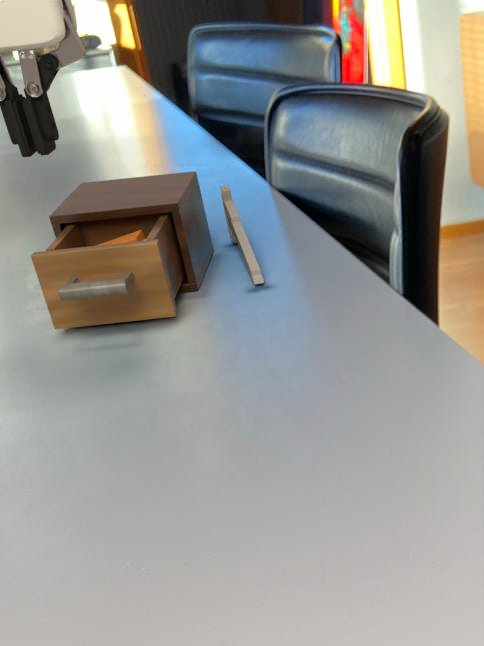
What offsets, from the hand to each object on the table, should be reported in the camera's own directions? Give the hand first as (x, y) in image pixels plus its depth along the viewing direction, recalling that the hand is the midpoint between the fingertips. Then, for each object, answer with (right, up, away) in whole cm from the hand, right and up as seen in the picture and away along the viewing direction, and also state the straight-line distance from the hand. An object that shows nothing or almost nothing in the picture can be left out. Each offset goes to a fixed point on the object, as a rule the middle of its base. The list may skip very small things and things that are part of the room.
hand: (39, 152), depth 81 cm
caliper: (+9, +3, +32) cm, 34 cm away
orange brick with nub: (0, -4, +18) cm, 19 cm away
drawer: (0, -6, +19) cm, 20 cm away
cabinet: (-1, +1, +30) cm, 30 cm away
